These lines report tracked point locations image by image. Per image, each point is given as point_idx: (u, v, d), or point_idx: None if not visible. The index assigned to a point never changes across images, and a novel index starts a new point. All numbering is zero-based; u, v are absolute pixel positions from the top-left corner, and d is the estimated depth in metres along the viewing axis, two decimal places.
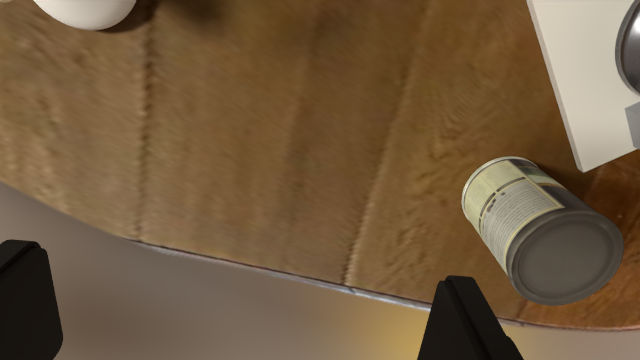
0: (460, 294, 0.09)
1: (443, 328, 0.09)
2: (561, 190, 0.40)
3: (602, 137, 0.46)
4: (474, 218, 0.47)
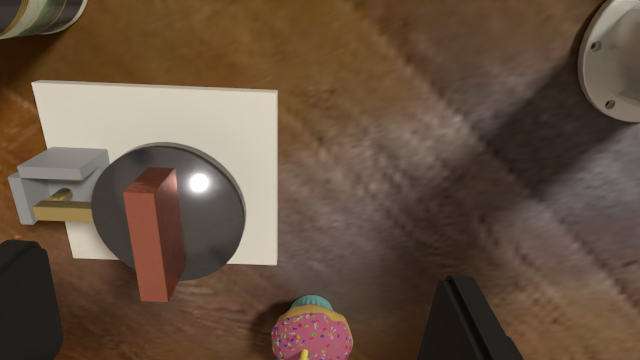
0: (460, 294, 0.09)
1: (443, 328, 0.09)
2: (5, 17, 0.26)
3: (76, 117, 0.37)
4: None
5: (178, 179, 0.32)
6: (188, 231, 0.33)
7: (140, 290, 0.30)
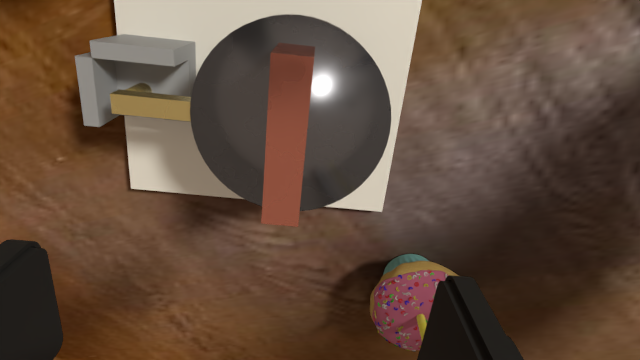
0: (460, 294, 0.09)
1: (443, 328, 0.09)
2: None
3: None
4: None
5: (316, 64, 0.23)
6: (315, 141, 0.25)
7: (263, 207, 0.22)
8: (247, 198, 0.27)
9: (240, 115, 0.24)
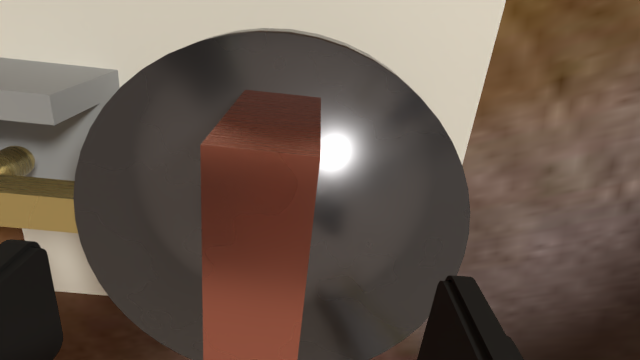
0: (460, 294, 0.09)
1: (443, 328, 0.09)
2: None
3: None
4: None
5: (323, 132, 0.11)
6: (320, 270, 0.13)
7: None
8: (196, 358, 0.15)
9: (174, 225, 0.13)
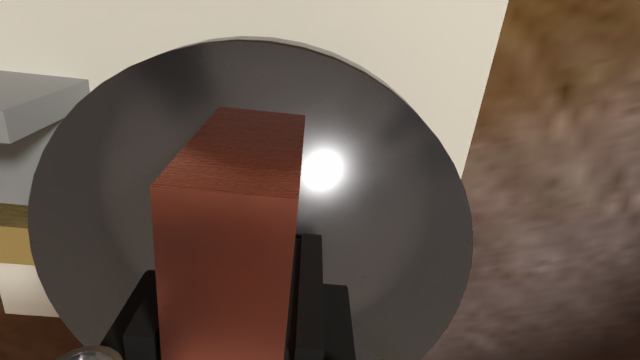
0: (301, 247, 0.10)
1: None
2: None
3: None
4: None
5: (309, 153, 0.10)
6: None
7: None
8: None
9: (143, 256, 0.11)
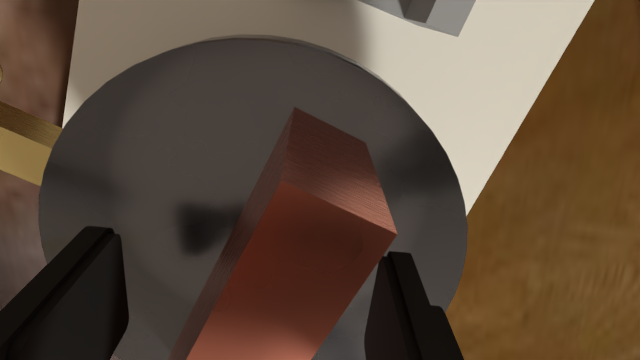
0: (395, 267, 0.10)
1: (380, 299, 0.10)
2: None
3: None
4: None
5: None
6: None
7: None
8: (119, 355, 0.13)
9: (157, 213, 0.11)
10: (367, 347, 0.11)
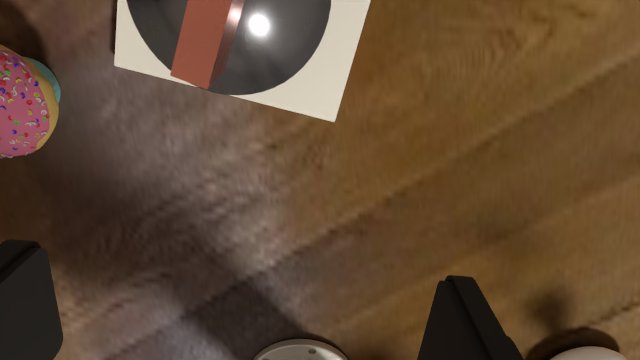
0: (460, 294, 0.09)
1: (443, 328, 0.09)
2: None
3: None
4: None
5: None
6: (248, 21, 0.25)
7: (175, 58, 0.21)
8: (166, 64, 0.26)
9: None
10: None
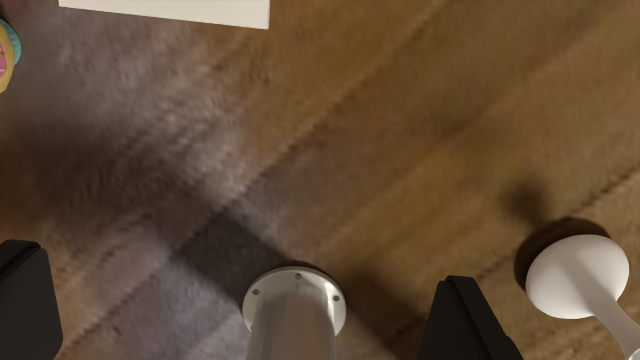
0: (460, 294, 0.09)
1: (443, 328, 0.09)
2: None
3: None
4: None
5: None
6: None
7: None
8: None
9: None
10: None
